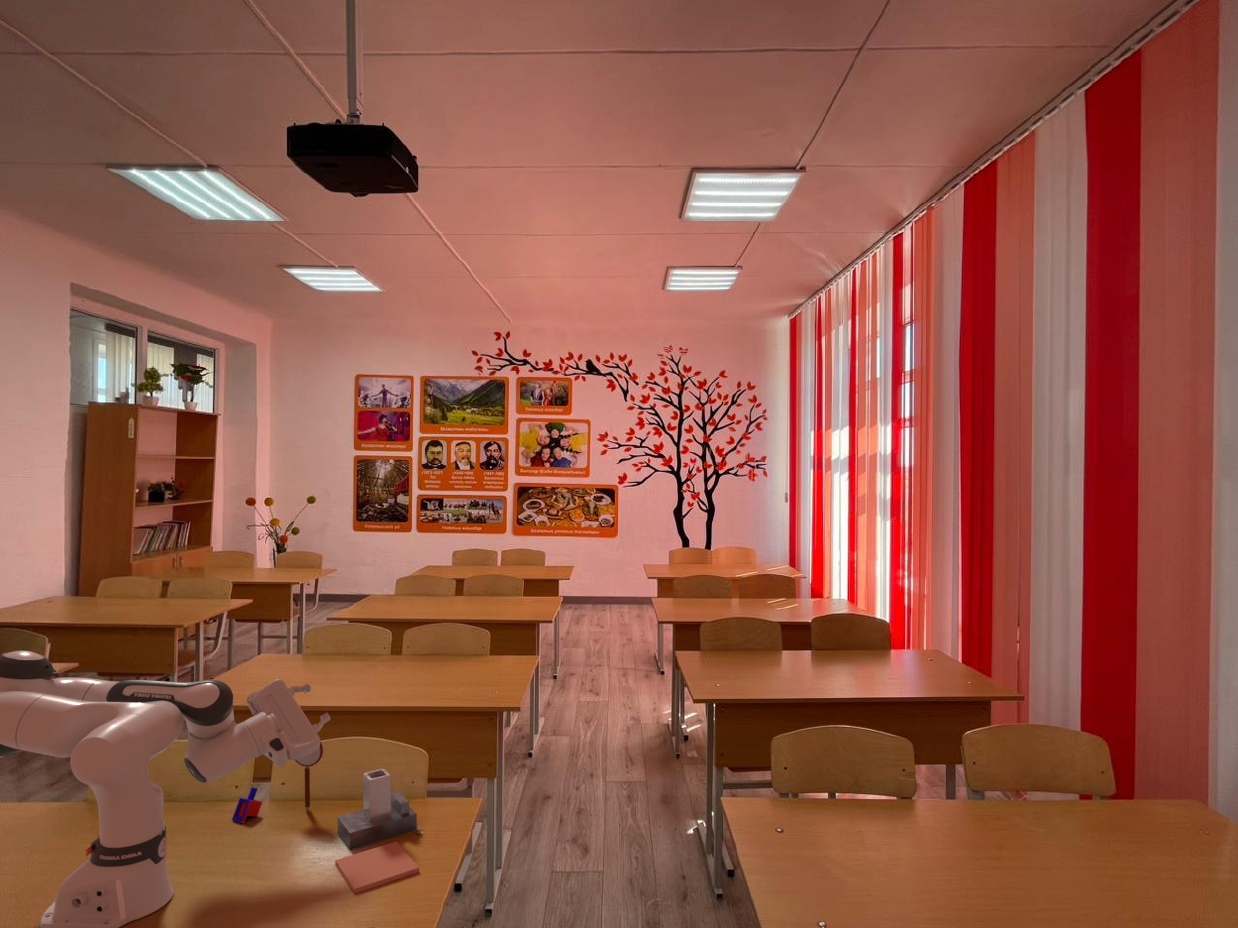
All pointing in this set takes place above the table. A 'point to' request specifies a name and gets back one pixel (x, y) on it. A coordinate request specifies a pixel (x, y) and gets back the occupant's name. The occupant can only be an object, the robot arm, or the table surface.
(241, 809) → the toy building block
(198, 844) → the table surface
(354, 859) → the terracotta mat
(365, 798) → the steel sleeve
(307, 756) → the magnifying glass
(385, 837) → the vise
